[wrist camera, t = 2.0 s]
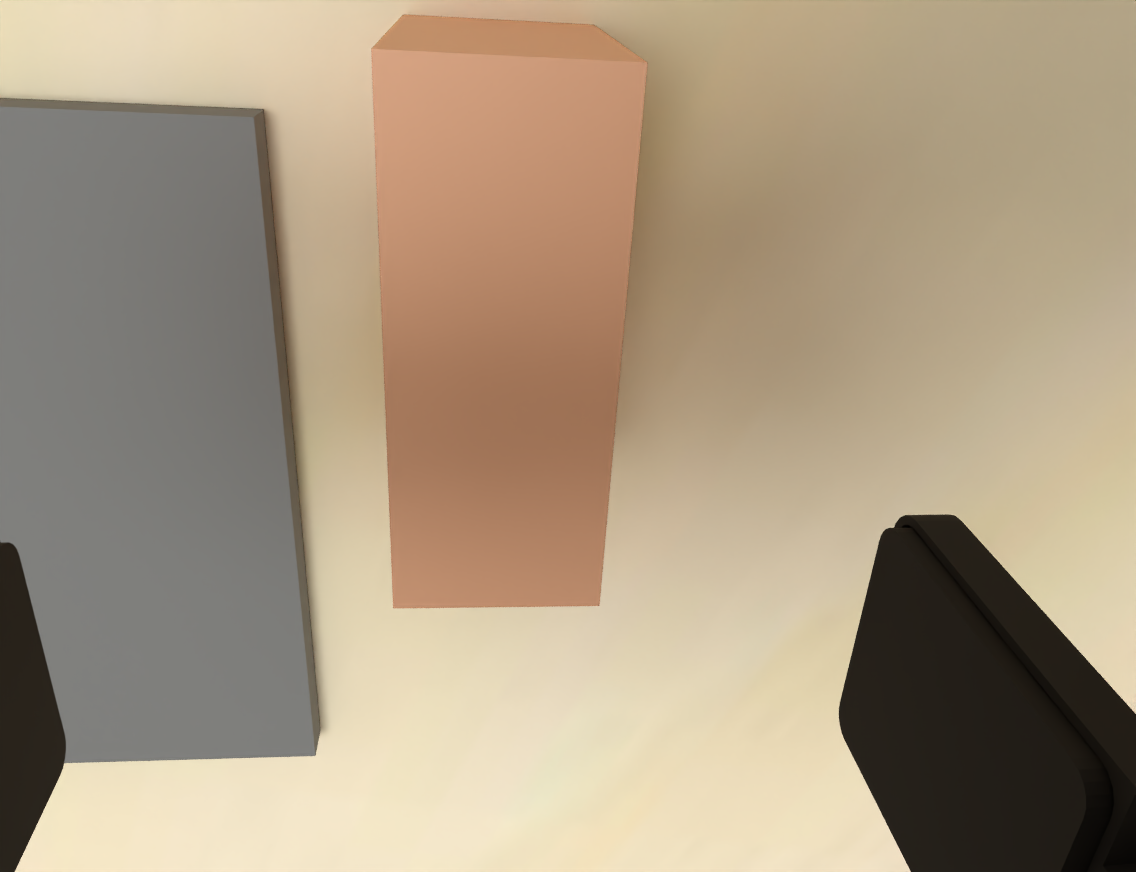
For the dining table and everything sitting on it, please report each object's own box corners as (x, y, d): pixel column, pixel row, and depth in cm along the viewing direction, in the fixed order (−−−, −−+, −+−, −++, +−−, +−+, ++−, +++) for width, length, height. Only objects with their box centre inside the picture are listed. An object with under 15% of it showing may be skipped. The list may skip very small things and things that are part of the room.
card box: (593, 24, 20) (647, 63, 14) (568, 439, 25) (598, 606, 18) (403, 14, 20) (371, 48, 13) (413, 437, 24) (393, 608, 18)
